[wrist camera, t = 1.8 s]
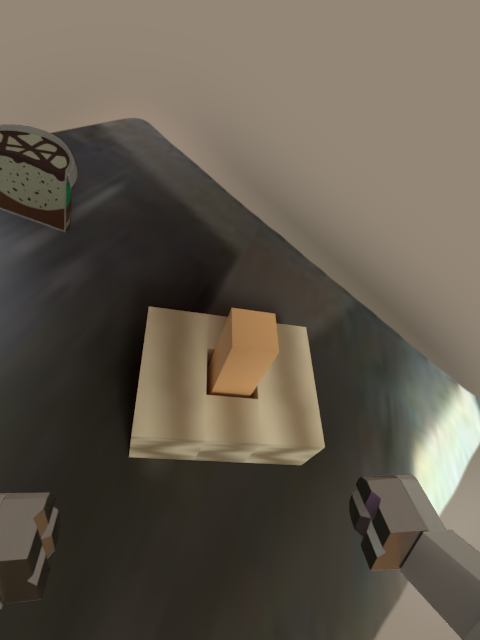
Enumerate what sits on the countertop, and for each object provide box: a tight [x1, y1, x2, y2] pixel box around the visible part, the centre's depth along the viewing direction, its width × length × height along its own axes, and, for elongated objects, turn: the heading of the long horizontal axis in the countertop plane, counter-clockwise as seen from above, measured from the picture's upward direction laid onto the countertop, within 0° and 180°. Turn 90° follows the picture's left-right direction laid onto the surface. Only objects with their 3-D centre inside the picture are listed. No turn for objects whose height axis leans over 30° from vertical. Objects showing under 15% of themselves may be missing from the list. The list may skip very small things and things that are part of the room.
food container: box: [0, 125, 77, 233], centre depth 50 cm, size 12×6×10 cm, turn 76°
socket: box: [129, 306, 325, 465], centre depth 42 cm, size 18×14×6 cm
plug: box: [206, 308, 279, 398], centre depth 39 cm, size 4×4×14 cm
